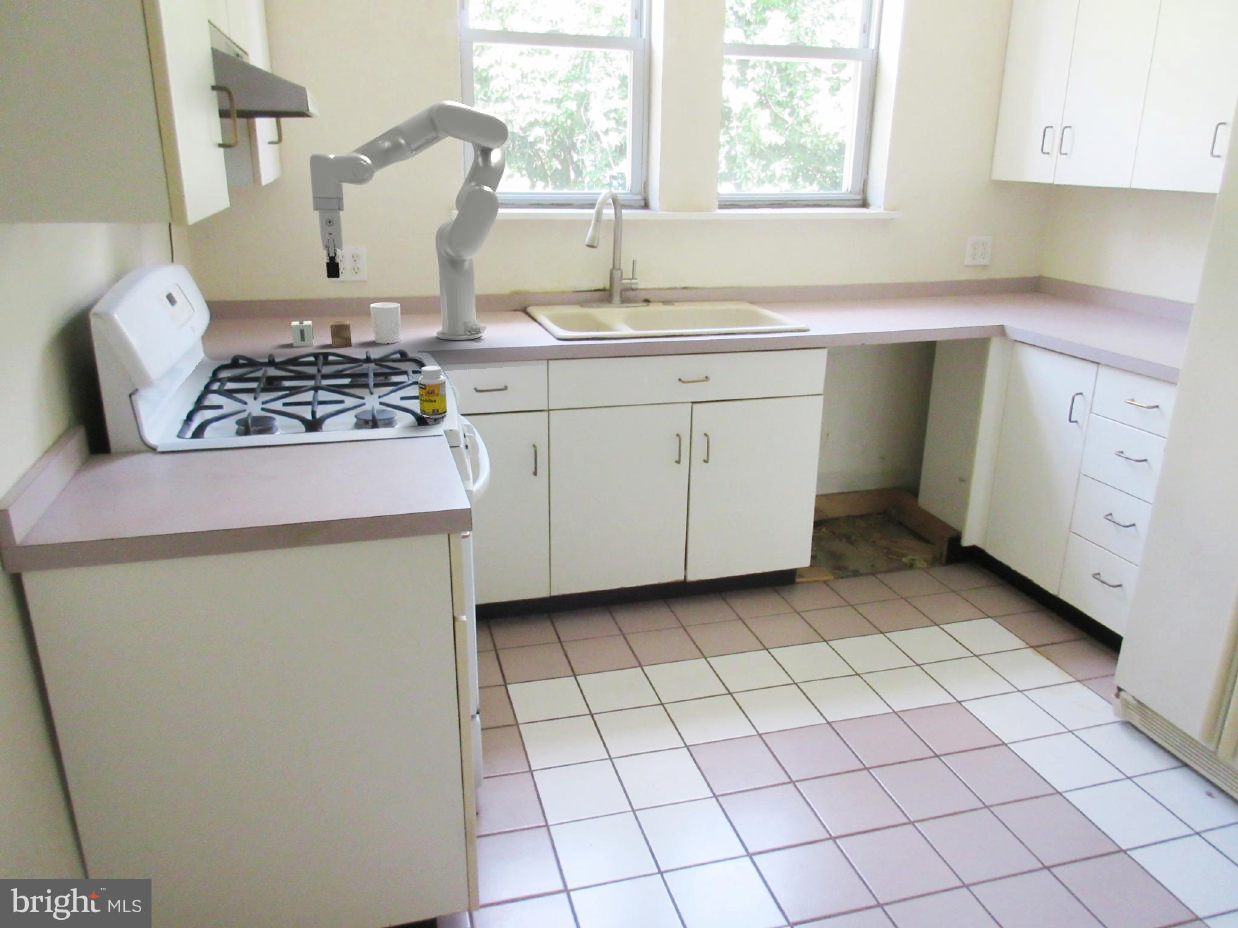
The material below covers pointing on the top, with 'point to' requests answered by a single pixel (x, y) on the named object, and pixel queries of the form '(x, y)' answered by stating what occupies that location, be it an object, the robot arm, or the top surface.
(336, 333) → the walnut block
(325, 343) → the top surface
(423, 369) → the supplement bottle
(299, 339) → the marked block
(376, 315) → the white cup
